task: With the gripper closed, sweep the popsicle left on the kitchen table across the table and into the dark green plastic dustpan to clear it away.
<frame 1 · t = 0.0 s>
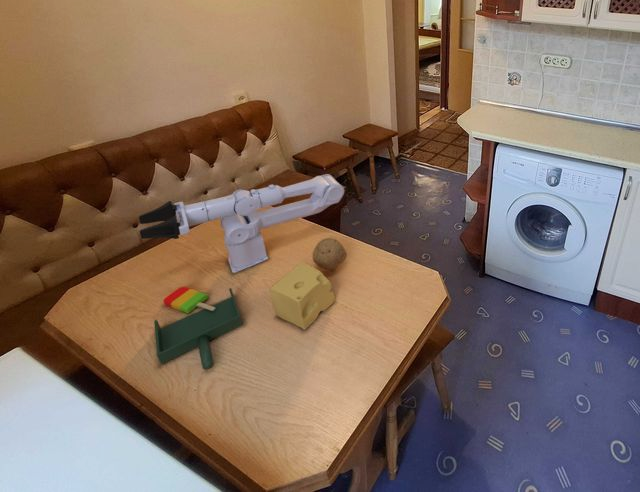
hand: (140, 227, 89), 22 cm above the table, tool horizontal, fingers open, 7 cm apart
popsicle: (194, 305, 94), on the table, touching dustpan
dustpan: (201, 327, 88), on the table
cheese: (305, 309, 94), on the table
natural sponge: (330, 267, 108), on the table
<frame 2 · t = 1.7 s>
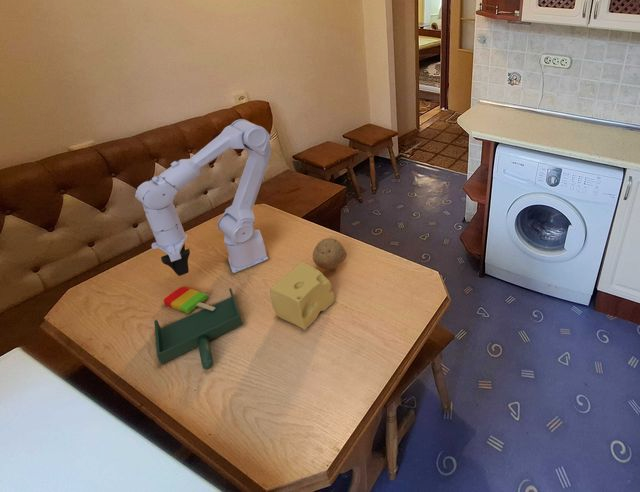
hand: (182, 266, 95), 8 cm above the table, tool pointing down, fingers open, 6 cm apart
nothing on the table moved.
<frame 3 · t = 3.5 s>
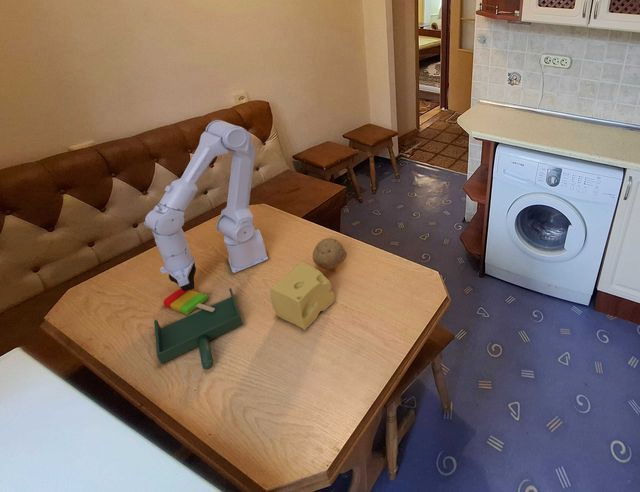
hand: (189, 289, 97), 1 cm above the table, tool pointing down, fingers closed, pressing on popsicle
popsicle: (193, 306, 94), on the table, touching dustpan, gripper
everything else where it was.
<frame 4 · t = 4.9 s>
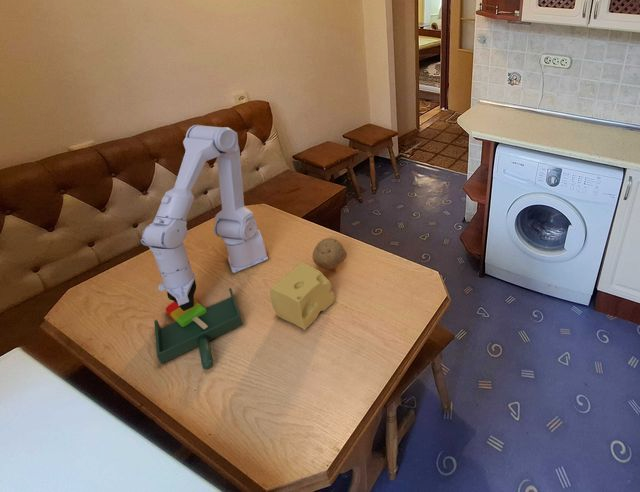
hand: (188, 308, 91), 2 cm above the table, tool pointing down, fingers closed, pressing on popsicle
popsicle: (192, 318, 90), on the table, touching dustpan, gripper
everything else where it was.
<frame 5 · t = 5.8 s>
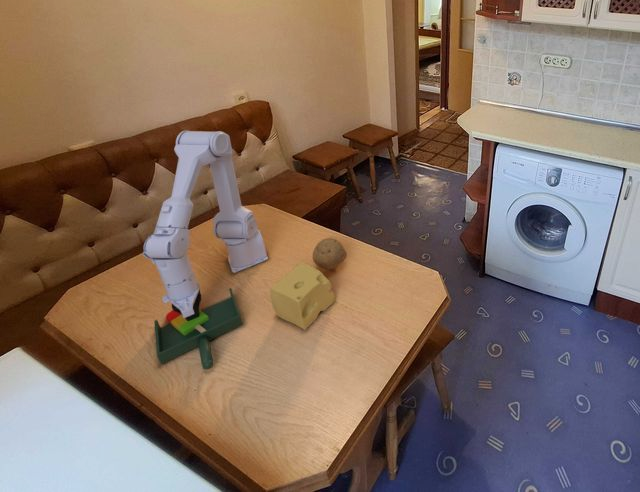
hand: (193, 318, 88), 1 cm above the table, tool pointing down, fingers closed, pressing on popsicle
popsicle: (193, 325, 88), on the table, touching dustpan, gripper
everything else where it was.
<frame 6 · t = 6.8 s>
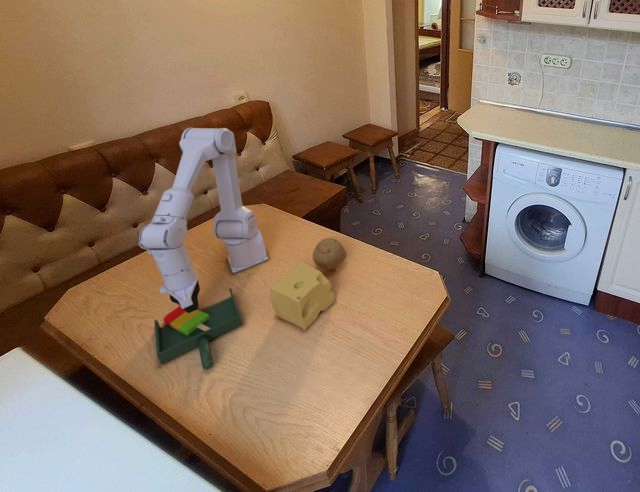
hand: (192, 309, 87), 5 cm above the table, tool pointing down, fingers closed
popsicle: (194, 325, 88), resting on dustpan
everything else where it was.
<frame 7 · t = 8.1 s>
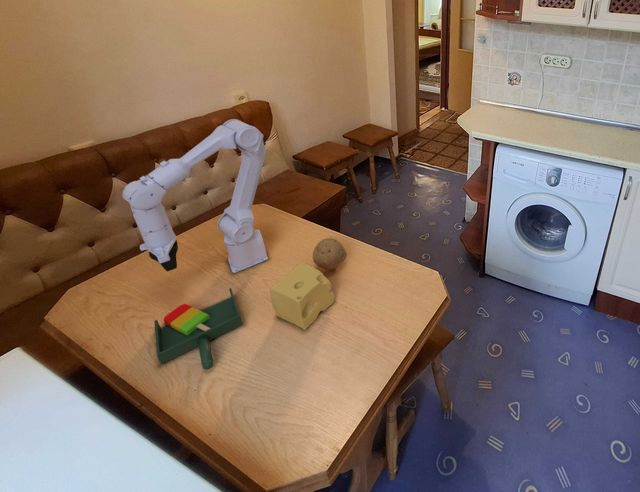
hand: (171, 268, 93), 9 cm above the table, tool pointing down, fingers closed
nothing on the table moved.
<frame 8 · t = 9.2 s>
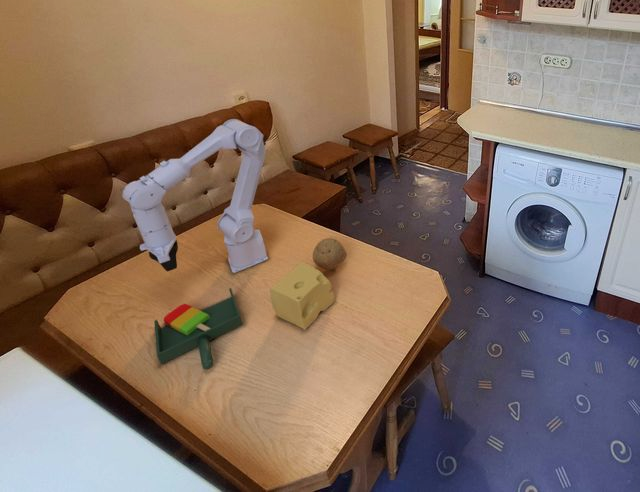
hand: (171, 268, 93), 9 cm above the table, tool pointing down, fingers closed
nothing on the table moved.
at the end: popsicle inside the target area in the dustpan (1.8 cm from its centre), point 0.1 cm above the dustpan's base; popsicle moved 7.7 cm from its start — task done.
